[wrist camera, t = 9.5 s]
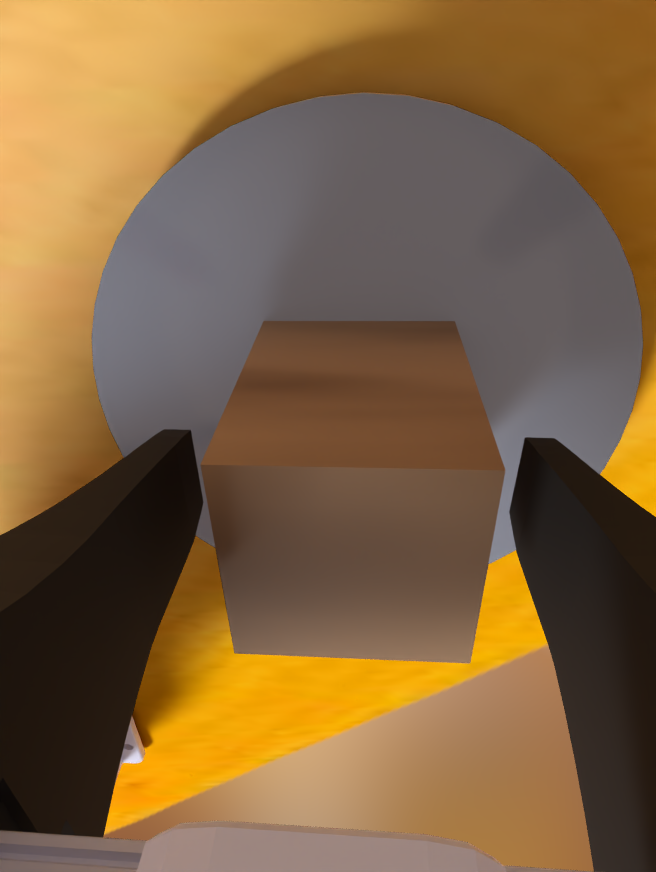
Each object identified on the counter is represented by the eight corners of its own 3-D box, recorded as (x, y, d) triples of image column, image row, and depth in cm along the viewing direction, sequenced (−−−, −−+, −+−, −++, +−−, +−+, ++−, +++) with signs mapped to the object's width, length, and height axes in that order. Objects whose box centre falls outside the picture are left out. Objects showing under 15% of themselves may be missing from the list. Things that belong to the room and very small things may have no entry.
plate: (560, 570, 19) (571, 598, 18) (159, 554, 20) (148, 580, 19) (705, 86, 11) (736, 87, 10) (46, 96, 12) (18, 98, 11)
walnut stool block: (438, 475, 16) (470, 663, 11) (277, 472, 16) (234, 653, 11) (454, 320, 13) (505, 471, 8) (263, 320, 14) (200, 464, 9)
